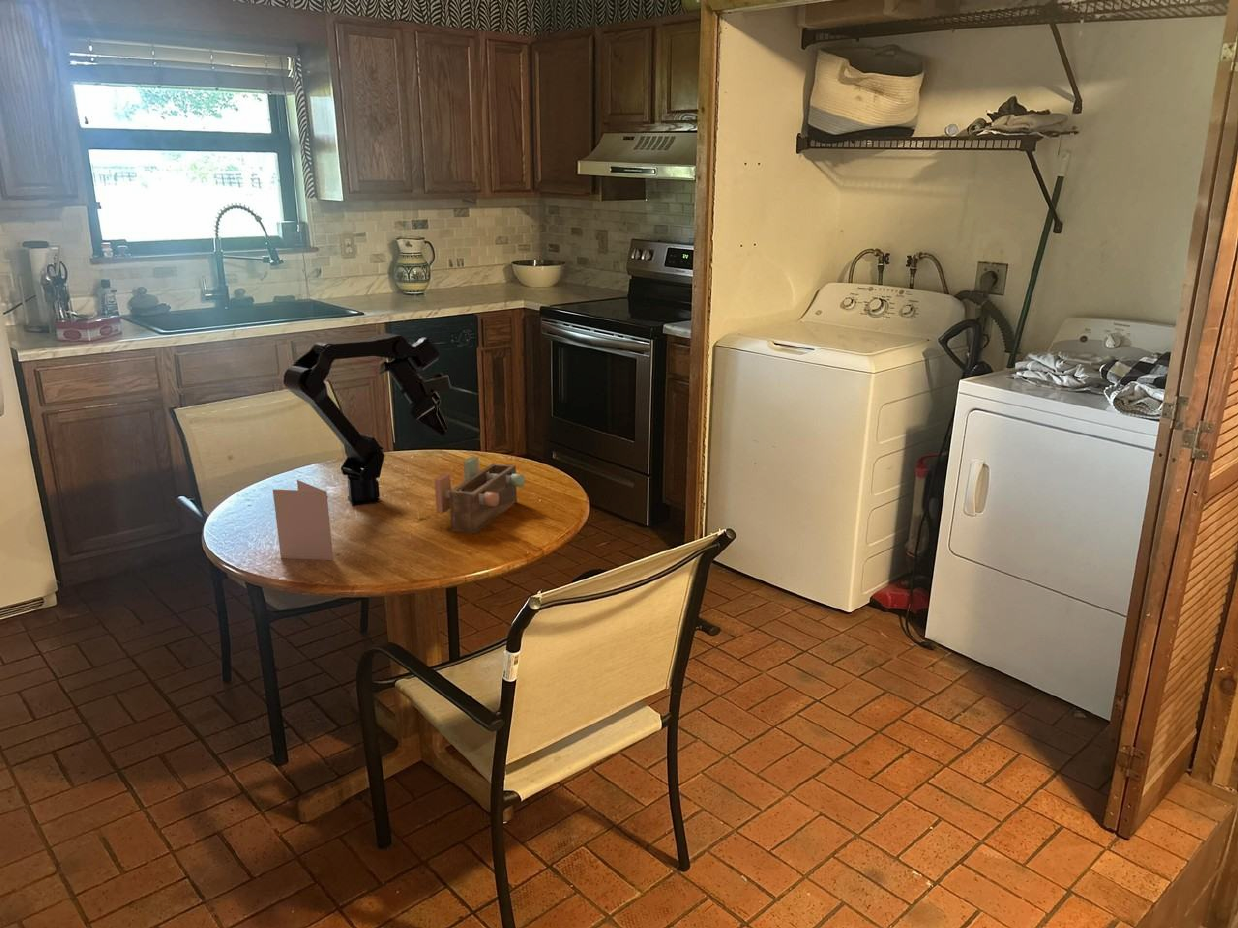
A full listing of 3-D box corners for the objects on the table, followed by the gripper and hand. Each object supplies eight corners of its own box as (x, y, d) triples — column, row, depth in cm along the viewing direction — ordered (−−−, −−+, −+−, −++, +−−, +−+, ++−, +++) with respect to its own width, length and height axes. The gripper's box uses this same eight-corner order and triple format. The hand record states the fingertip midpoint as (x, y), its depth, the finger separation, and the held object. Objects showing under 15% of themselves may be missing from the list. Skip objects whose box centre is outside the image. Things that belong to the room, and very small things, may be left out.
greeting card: (337, 558, 190) (330, 490, 186) (304, 569, 185) (296, 499, 181) (307, 544, 198) (300, 478, 193) (275, 555, 192) (267, 487, 188)
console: (451, 530, 206) (449, 491, 203) (494, 499, 226) (492, 463, 223) (475, 533, 204) (473, 494, 201) (516, 501, 224) (515, 465, 221)
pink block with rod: (436, 512, 208) (434, 479, 205) (446, 506, 212) (444, 473, 209) (492, 519, 203) (491, 485, 201) (501, 513, 207) (499, 479, 205)
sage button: (465, 493, 220) (463, 461, 218) (474, 487, 224) (472, 456, 222) (518, 499, 216) (517, 467, 214) (526, 493, 220) (525, 462, 218)
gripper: (433, 364, 218) (471, 418, 221) (437, 359, 236) (472, 409, 239) (394, 390, 217) (432, 444, 221) (401, 383, 236) (437, 433, 239)
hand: (445, 431), depth 230 cm, fingers open, 9 cm apart
